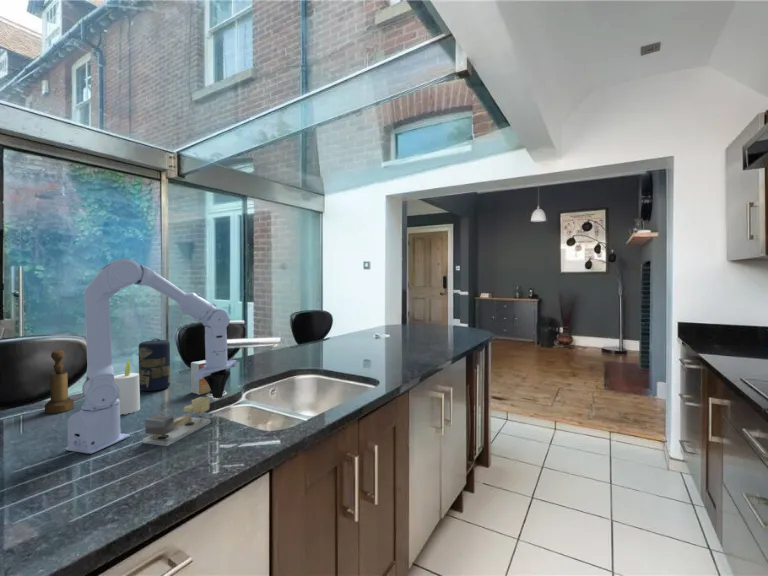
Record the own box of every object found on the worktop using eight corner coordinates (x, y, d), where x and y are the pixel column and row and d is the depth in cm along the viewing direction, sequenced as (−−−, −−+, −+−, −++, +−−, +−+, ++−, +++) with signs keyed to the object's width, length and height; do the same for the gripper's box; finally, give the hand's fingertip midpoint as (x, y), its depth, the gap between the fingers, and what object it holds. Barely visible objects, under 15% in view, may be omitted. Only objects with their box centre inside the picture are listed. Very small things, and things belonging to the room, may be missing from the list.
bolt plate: (167, 446, 85) (166, 441, 85) (143, 442, 87) (142, 438, 87) (210, 423, 98) (210, 419, 98) (188, 420, 100) (188, 416, 100)
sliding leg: (201, 419, 97) (201, 401, 97) (183, 417, 99) (183, 399, 99) (209, 415, 100) (209, 397, 100) (192, 413, 102) (191, 396, 102)
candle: (107, 414, 106) (106, 362, 106) (128, 406, 112) (127, 357, 112) (125, 415, 104) (123, 363, 104) (145, 408, 111) (143, 358, 110)
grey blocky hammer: (163, 440, 86) (163, 421, 86) (145, 438, 87) (144, 419, 87) (202, 420, 98) (202, 403, 98) (186, 418, 99) (186, 402, 99)
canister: (132, 391, 127) (131, 340, 127) (156, 384, 137) (155, 336, 136) (153, 393, 125) (152, 341, 124) (177, 386, 134) (175, 336, 133)
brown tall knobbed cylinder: (79, 406, 113) (77, 348, 112) (59, 414, 106) (57, 352, 106) (60, 405, 114) (58, 348, 113) (38, 413, 107) (36, 352, 107)
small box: (198, 395, 122) (198, 364, 122) (190, 392, 126) (190, 362, 126) (221, 389, 129) (221, 359, 129) (213, 386, 132) (213, 357, 132)
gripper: (222, 345, 113) (224, 388, 114) (184, 354, 99) (186, 404, 100) (242, 346, 111) (243, 390, 111) (205, 356, 97) (207, 406, 98)
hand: (217, 397), depth 105 cm, fingers closed
